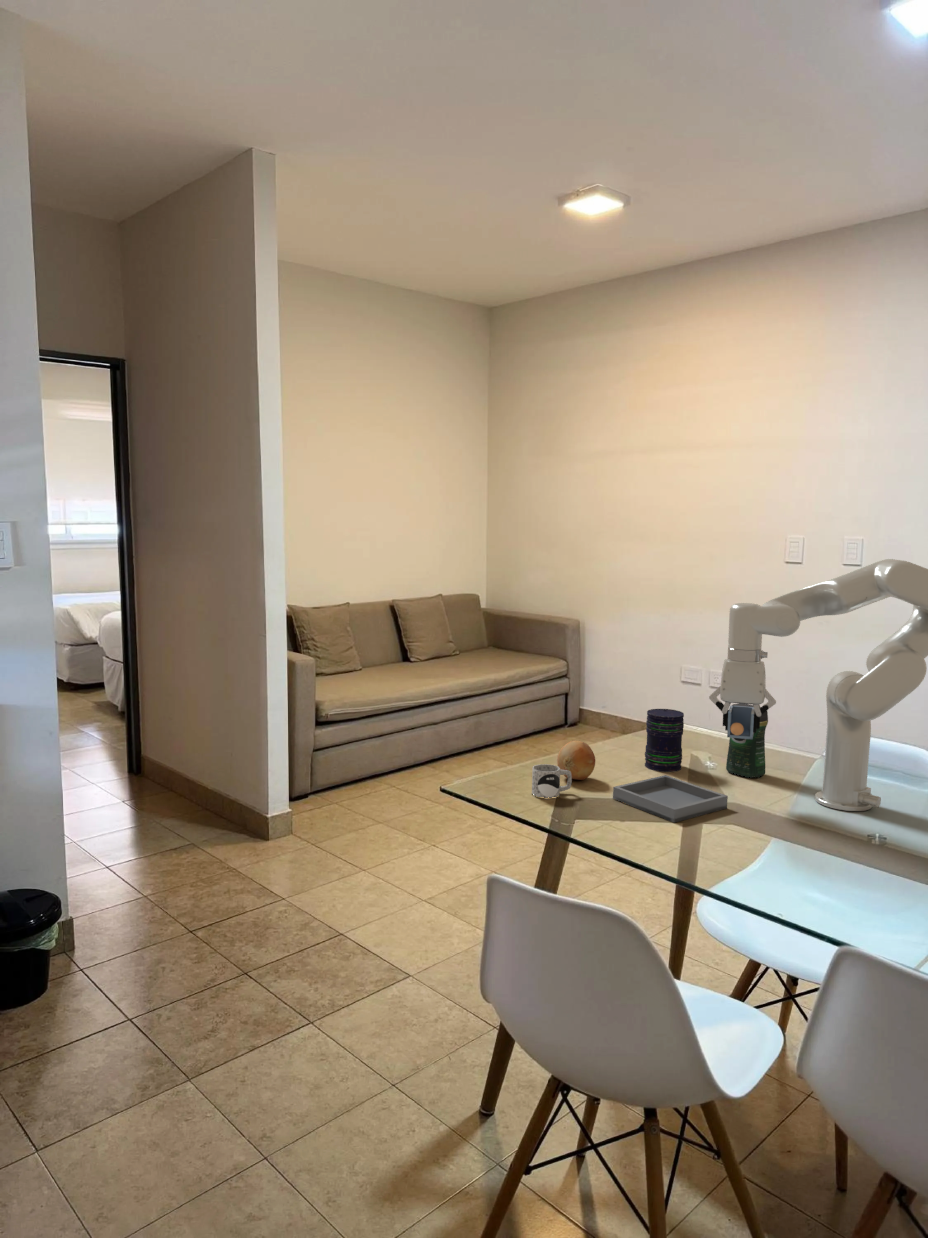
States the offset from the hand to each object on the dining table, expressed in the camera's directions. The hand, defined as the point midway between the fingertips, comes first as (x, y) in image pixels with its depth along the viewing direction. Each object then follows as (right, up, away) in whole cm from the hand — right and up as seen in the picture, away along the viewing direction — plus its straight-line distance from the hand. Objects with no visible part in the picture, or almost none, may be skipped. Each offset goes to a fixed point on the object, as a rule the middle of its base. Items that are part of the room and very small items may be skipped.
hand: (740, 729), depth 208 cm
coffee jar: (+8, -15, +23) cm, 28 cm away
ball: (-2, +1, -3) cm, 4 cm away
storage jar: (-12, -14, +28) cm, 33 cm away
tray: (-18, -17, -3) cm, 25 cm away
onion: (-38, -15, +15) cm, 43 cm away
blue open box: (0, -1, 0) cm, 1 cm away
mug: (-45, -16, +3) cm, 48 cm away
